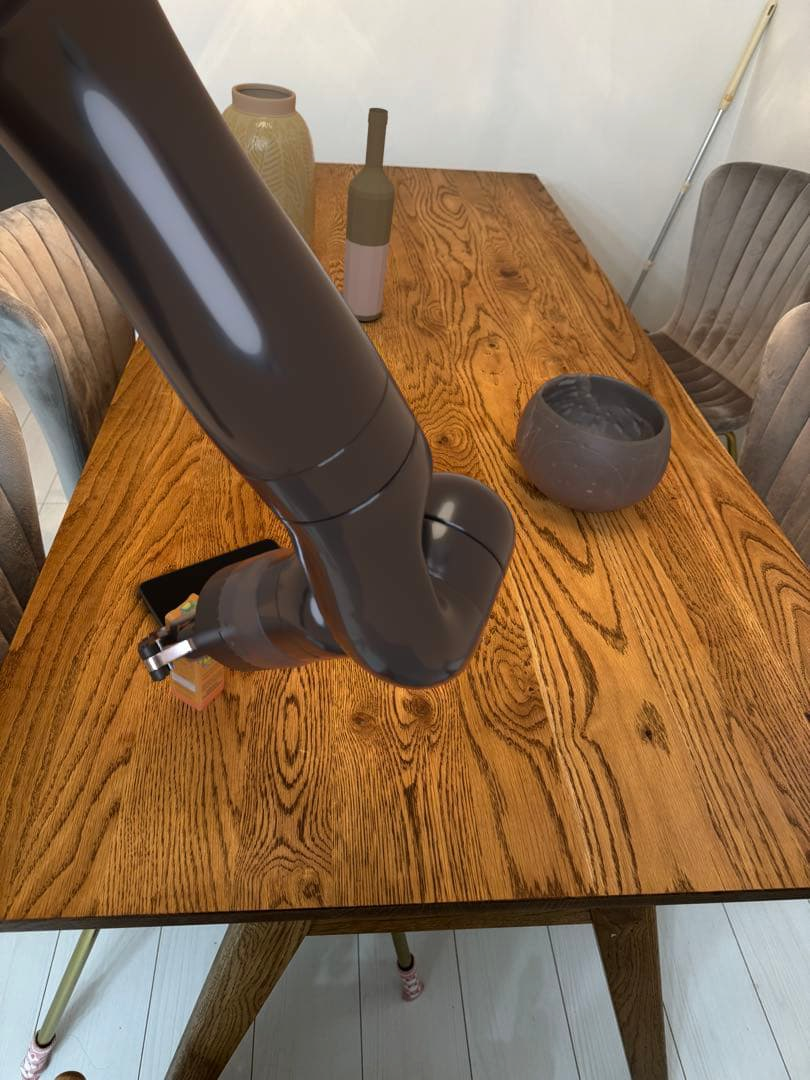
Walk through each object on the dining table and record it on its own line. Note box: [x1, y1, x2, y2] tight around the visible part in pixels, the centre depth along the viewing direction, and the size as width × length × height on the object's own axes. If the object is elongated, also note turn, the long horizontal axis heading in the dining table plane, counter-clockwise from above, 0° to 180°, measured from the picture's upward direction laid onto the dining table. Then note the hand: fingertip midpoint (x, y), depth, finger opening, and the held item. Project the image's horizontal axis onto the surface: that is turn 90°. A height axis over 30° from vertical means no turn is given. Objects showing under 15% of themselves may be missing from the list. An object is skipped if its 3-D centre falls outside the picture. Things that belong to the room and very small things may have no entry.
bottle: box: [342, 107, 396, 322], centre depth 121 cm, size 7×7×30 cm
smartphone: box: [138, 538, 282, 628], centre depth 81 cm, size 7×1×15 cm
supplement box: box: [165, 593, 225, 712], centre depth 66 cm, size 3×3×10 cm
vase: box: [221, 82, 317, 251], centre depth 133 cm, size 17×17×27 cm
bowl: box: [514, 372, 672, 513], centre depth 97 cm, size 18×18×13 cm
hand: (181, 631), depth 66 cm, fingers closed on supplement box, 4 cm apart
